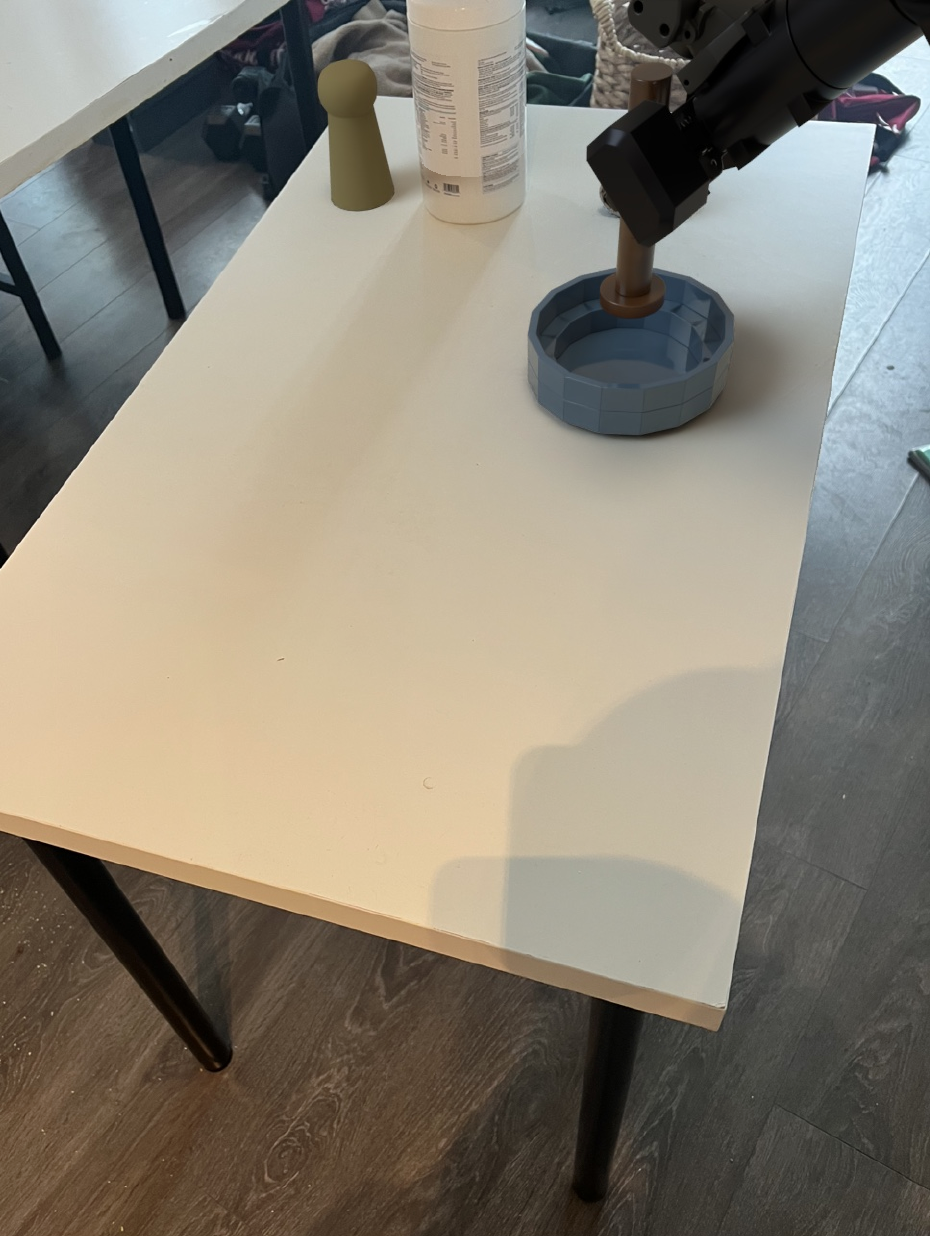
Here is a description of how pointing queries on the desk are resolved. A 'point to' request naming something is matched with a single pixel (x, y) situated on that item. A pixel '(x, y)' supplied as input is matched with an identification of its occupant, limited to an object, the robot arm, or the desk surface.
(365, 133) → the olive pawn
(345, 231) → the desk surface
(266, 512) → the desk surface
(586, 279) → the bowl
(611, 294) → the brown cylinder with base
